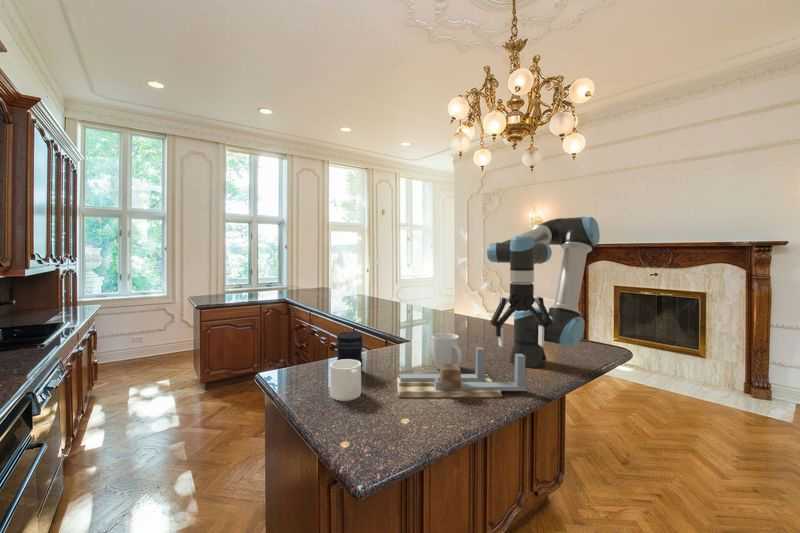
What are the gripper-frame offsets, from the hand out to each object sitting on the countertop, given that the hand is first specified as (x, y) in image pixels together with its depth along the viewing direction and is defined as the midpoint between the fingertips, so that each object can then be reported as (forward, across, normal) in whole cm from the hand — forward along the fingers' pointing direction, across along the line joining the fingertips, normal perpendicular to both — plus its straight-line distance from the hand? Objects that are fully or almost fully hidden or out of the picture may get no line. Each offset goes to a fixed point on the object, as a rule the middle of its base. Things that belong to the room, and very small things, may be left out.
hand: (520, 345), depth 118 cm
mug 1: (+15, +58, +3) cm, 60 cm away
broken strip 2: (+14, +16, -8) cm, 23 cm away
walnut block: (+13, +24, 0) cm, 27 cm away
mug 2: (+16, +22, -23) cm, 35 cm away
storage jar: (+15, +60, -18) cm, 64 cm away
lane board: (+15, +25, -4) cm, 29 cm away
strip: (+14, +14, 0) cm, 20 cm away
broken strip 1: (+14, +33, -8) cm, 37 cm away
